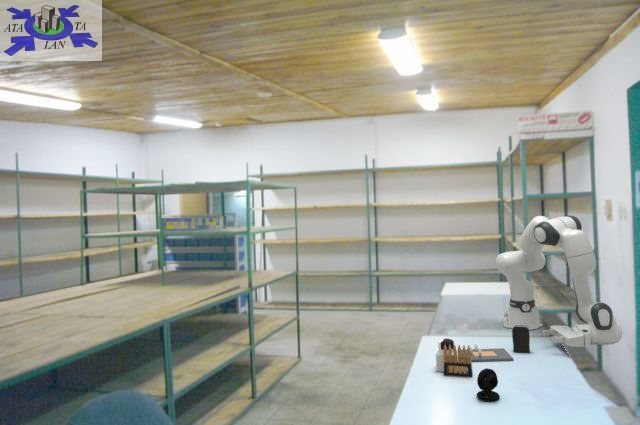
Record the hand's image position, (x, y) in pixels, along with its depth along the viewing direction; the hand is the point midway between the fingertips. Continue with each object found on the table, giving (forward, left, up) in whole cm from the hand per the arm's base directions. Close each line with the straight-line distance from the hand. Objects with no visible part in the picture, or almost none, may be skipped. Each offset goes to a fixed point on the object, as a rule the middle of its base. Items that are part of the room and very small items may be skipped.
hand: (547, 335), depth 218 cm
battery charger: (0, -11, -7) cm, 13 cm away
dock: (+5, -28, -7) cm, 29 cm away
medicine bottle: (+20, -46, -7) cm, 51 cm away
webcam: (+49, -37, -7) cm, 62 cm away
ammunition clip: (+27, -43, -7) cm, 51 cm away
